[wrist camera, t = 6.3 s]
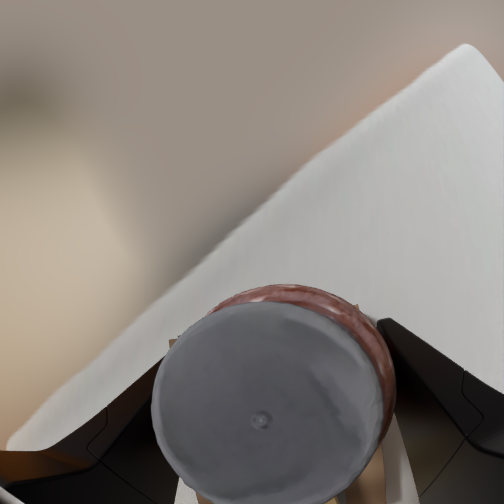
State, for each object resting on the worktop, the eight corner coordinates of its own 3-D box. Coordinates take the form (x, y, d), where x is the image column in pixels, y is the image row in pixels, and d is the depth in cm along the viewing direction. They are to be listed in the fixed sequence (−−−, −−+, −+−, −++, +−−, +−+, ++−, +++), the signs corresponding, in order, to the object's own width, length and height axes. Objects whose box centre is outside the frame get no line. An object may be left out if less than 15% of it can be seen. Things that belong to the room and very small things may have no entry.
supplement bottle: (293, 298, 16) (248, 178, 6) (378, 364, 14) (503, 368, 3) (221, 379, 15) (65, 397, 5) (303, 448, 13) (273, 590, 2)
